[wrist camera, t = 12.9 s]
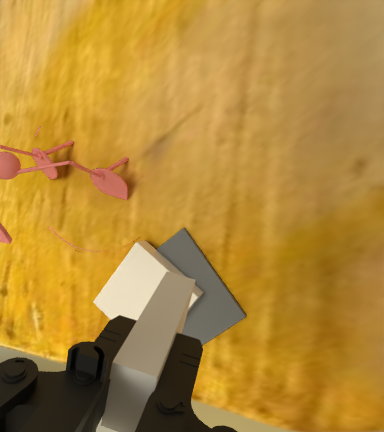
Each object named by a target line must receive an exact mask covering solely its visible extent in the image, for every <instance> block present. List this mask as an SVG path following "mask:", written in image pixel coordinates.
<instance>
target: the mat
mask: <svg viewBox="0 0 384 432" xmlns="http://www.w3.org/2000/svg"><path fill="white" fill-rule="evenodd" d="M156 250H157V251H158V252H159V253H160V254H161V255H162V256H164V257H165V258H166V259H167V260H168V261H169V262H170V263H171V264H173V265H174V266H175V267H176V268H177V269H178V270H179V271H180V272H182V273H183V274H184V275H185V276H186V277H188V278H191V279H195V280H196V281H195V285H196V286H197V287H198V288H200V289H201V290H202V291H203V292H204V293H203V294H202V295H201V297H200V298H199V299H198V300H197V302H196V303H195V304H194V305H193V307H192V308H191V309H190V310H189V312H188V313H187V316H186V320H185V324H184V327H183V330H182V333H181V334H183V335H187V336H190V337H193V338H196V339H199V340H200V341H201V345H204V344H205V343H207V342H208V341H210V340H211V339H213V338H214V337H216V336H217V335H219V334H220V333H222V332H223V331H225V330H226V329H228V328H230V327H231V326H233V325H234V324H236V323H237V322H239V321H240V320H242V319H243V318H245V317H246V314H245V313H244V311H243V310H242V308H241V307H240V306H239V304H238V303H237V301H236V300H235V298H234V297H233V296H232V294H231V293H230V291H229V290H228V288H227V287H226V286H225V284H224V283H223V281H222V280H221V279H220V277H219V276H218V274H217V273H216V271H215V270H214V269H213V267H212V266H211V264H210V263H209V261H208V260H207V259H206V257H205V256H204V254H203V253H202V251H201V250H200V249H199V247H198V246H197V244H196V243H195V242H194V240H193V239H192V237H191V236H190V234H189V233H188V232H187V230H186V229H185V228H183V229H182V230H180V231H179V232H178V233H176V234H175V235H174V236H173V237H171V238H170V239H169V240H167V241H166V242H165V243H164V244H162V245H161V246H160V247H158V248H157V249H156Z"/></svg>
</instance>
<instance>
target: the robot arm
mask: <svg viewBox="0 0 384 432" xmlns="http://www.w3.org/2000/svg"><path fill="white" fill-rule="evenodd" d="M195 281H196V280H195V279H191V278H188V277H185V276H181V275H178V274H174V273H171V272H168V271H166V273H165V275H164V277H163V278H162V280H161V282H160V283H159V285H158V287H157V288H156V290H155V292H154V293H153V295H152V297H151V298H150V300H149V302H148V303H147V305H146V307H145V308H144V310H143V312H142V313H141V315H140V317H139V318H138V320H134V319H130V318H127V317H124V316H121V315H119V316H117V317H115V318H113V319H112V320H110V321H109V322H108V324H107V325H106V326H105V328H104V330H103V331H102V332H101V333H100V335H99V337H97V339H96V340H95V342H90V341H89V342H80V343H78V344H75V345H73V346H72V347H71V348H70V349H69V350H68V357H67V365H66V370H65V371H61V372H42V371H38V367H37V365H36V364H35V363H34V362H33V361H32V360H29V359H27V358H18V357H17V358H12V359H8V360H6V361H4V362H2V363H0V432H96V427H97V425H98V424H99V422H100V420H101V418H102V423H101V425H102V426H105V427H107V428H110V429H113V430H115V431H118V432H237V431H236V430H234V429H233V428H230V427H227V426H215V427H213V428H212V429H211V428H209V427H208V426H207V425H205V424H204V423H203V422H202V421H200V420H199V419H198V418H197V416H196V415H195V414H194V412H193V409H192V406H191V396H192V392H193V388H194V384H195V380H196V376H197V372H198V368H199V364H200V360H201V356H202V352H203V348H202V345H201V341H200V340H199V339H196V338H193V337H190V336H187V335H183V334H181V333H182V330H183V327H184V324H185V320H186V316H187V312H188V308H189V304H190V300H191V297H192V293H193V289H194V285H195ZM102 416H103V417H102Z"/></svg>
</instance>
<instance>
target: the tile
mask: <svg viewBox="0 0 384 432" xmlns="http://www.w3.org/2000/svg"><path fill="white" fill-rule="evenodd" d="M166 271H168V272H171V273H174V274H178V275H181V276H185V275H184V274H183V273H182V272H180V271H179V270H178V269H177V268H176V267H175V266H174V265H173V264H171V263H170V262H169V261H168V260H167V259H166V258H165V257H164V256H162V255H161V254H160V253H159V252H158V251H157V250H156V249H155V248H153V247H152V246H151V245H150V244H149V243H148V242H147V241H146V240H144V241H139V242H136V243H135V245H134V246H133V247H132V249H131V250H130V252H129V253H128V254H127V256H126V257H125V258H124V260H123V261H122V263H121V264H120V265H119V267H118V268H117V270H116V271H115V272H114V274H113V275H112V277H111V278H110V279H109V281H108V282H107V283H106V285H105V286H104V288H103V289H102V290H101V292H100V293H99V295H98V296H97V297H96V299H95V300H94V301H93V302H94V303H95V304H96V305H97V306H98V307H99V308H100V309H101V310H102V311H103V312H104V313H105V314H106V315H107V316H108V317H109V318H110V319H111V320H112V319H113V318H115V317H117V316H119V315H121V316H124V317H127V318H130V319H134V320H138V318H139V317H140V315H141V313H142V312H143V310H144V308H145V307H146V305H147V303H148V302H149V300H150V298H151V297H152V295H153V293H154V292H155V290H156V288H157V287H158V285H159V283H160V282H161V280H162V278H163V277H164V275H165V273H166ZM185 277H186V276H185ZM203 293H204V292H203V291H202V290H201V289H200V288H198V287H197V286H196V285H194V289H193V293H192V297H191V300H190V304H189V308H188V312H189V310H190V309H191V308H192V307H193V305H194V304H195V303H196V302H197V300H198V299H199V298H200V297H201V295H202V294H203ZM188 312H187V313H188Z"/></svg>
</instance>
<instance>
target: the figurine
mask: <svg viewBox="0 0 384 432" xmlns="http://www.w3.org/2000/svg"><path fill="white" fill-rule="evenodd" d="M39 128H40V126H39ZM39 128H38V130H39ZM38 130H37V132H38ZM36 134H37V133H36ZM35 137H36V135H35ZM72 144H73V141H69V142H66V143H64V144H62V145H59V146H57V147H54V148H52V149H49V150H47V151H44V152H43V151H41V150H40V149H39V148H33V149H32V153H29V152H25V151H21V150H18V149H14V148H10V147H6V146H2V145H0V148H1V149H5V150H9V151H13V152H18V153H22V154H26V155H30V156H33V159H34V160H35V162H36V164H37V165H38V166H37V167H32V168H26V169H21V164H20V161H19V159H18V158H17V157H16V156H15V155H14V154H12V153H9V152H0V179H12V178H14V177H16V176H17V175H18V174H20V173H25V172H31V171H36V170H42V171H43V172H44V173H45V174H46V176H47V177H48V178H49V179H55V178H56V177H57V176H58V171H57V168H56V166H62V165H67V164H70V165H72V166H75V167H77V168H79V169H81V170H84V171H86V172H88V173H90V177H91V179H92V182H93V184H94V185H95V186H96V187H97V188H98V189H99V190H100V191H102V192H104V193H106V194H108V195H111V196H114V197H117V198H120V199H124V200H127V196H128V189H127V185H126V183H125V181H124V179H122V178H121V177H120V176H119V175H117V174H115V173H113V172H111V171H112V170H113V169H115V168H117V167H118V166H120V165H122V164H123V163H125V162H127V161H128V158H127V157H125V158H124V159H122V160H120V161H118V162H117V163H115V164H113V165H111V166H110V167H108V168H106V169H102V168H96V170H95V169H93V170H92V171H91V170H89V169H87V168H85V167H83V166H81V165H79V164H77V163H75V162H73V161H70V160H69V161H64V162H59V163H53V162H52V160H51V159H50V158H49V157H48V156H47V155H49V154H51V153H53V152H56V151H58V150H60V149H63V148H65V147H68V146H70V145H72ZM20 169H21V170H20ZM49 228H50V227H49ZM50 229H51V228H50ZM51 230H52V229H51ZM52 231H53V230H52ZM53 232H54V231H53ZM54 233H55V232H54ZM55 234H56V233H55ZM56 235H57V234H56ZM57 236H58V235H57ZM58 237H59V236H58ZM139 238H140V237H139ZM61 239H62V238H61ZM62 240H63V239H62ZM136 240H137V239H136ZM11 241H12V238H11V237H10V235H9V234H8V232H7V230H6V229H5V228H4V227H3V225H2V224H1V223H0V242H4V243H8V244H10V243H11ZM65 242H66V241H65ZM67 243H68V242H67ZM69 244H70V243H69ZM71 245H72V244H71ZM74 247H75V246H74ZM123 247H124V246H123ZM77 248H78V247H77ZM80 249H81V248H80ZM84 250H85V249H84ZM75 251H76V250H75ZM88 251H90V250H88ZM78 252H79V251H78ZM96 252H99V251H96ZM81 253H82V252H81ZM113 254H114V253H113Z"/></svg>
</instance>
